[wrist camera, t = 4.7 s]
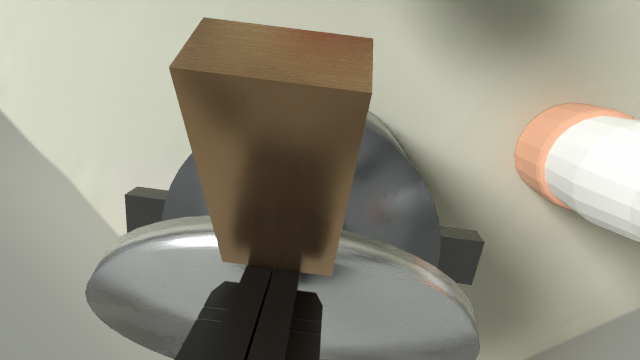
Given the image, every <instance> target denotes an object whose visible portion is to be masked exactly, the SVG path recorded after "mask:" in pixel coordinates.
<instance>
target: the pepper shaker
mask: <svg viewBox="0 0 640 360" xmlns="http://www.w3.org/2000/svg"><path fill="white" fill-rule="evenodd" d="M515 162H516V168H517V171H518V173H519V175H520V177H521V179H522V180H523V181H524V182H525V183H526V184H527V185H529V186H530V187H531V188H532V189H533V190H535V191H536V192H538V193H539V194H541V195H542V196H544V197H545V198H547V199H548V200H549V201H551V202H552V203H554V204H556V205H559V206H561V207H563V208H566V209H571V210H574V211H575V212H577V213H578V214H580V215H581V216H582V217H584V218H585V219H586V220H588V221H589V222H591V223H593V224H596V225H598V226H601V227H603V228H605V229H608V230H610V231H613V232H615V233H618V234H620V235H622V236H625V237H627V238H630V239H632V240H635V241H637V242H640V121H638V120H635V119H634V118H633V117H631V116H629V115H627V114H625V113H622V112H620V111H618V110H614V109H608V108H603V107H598V106H593V105H588V104H578V103H567V104H563V105H558V106H554V107H552V108H550V109H548V110H546V111H544V112H543V113H541V114H539V115H538V116H537V117H536V118H535V119H534V120H532V121H531V122H530V123H529V124H528V125H527V126H526V128H525V130H524V131H523V133H522V134H521V136H520V138H519V139H518V143H517V147H516V151H515Z"/></svg>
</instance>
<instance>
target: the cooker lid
mask: <svg viewBox="0 0 640 360" xmlns="http://www.w3.org/2000/svg"><path fill="white" fill-rule="evenodd" d="M372 67H373V39H372V38H364V37H356V36H348V35H340V34H332V33H324V32H316V31H308V30H300V29H292V28H284V27H276V26H268V25H260V24H252V23H244V22H236V21H228V20H220V19H212V18H203V19H202V20H201V22H200V23H199V25H198V26H197V28H196V29H195V31H194V32H193V33H192V35H191V36H190V38H189V39H188V41H187V42H186V44H185V45H184V46H183V48H182V49H181V51H180V52H179V54H178V55H177V57H176V58H175V59H174V61H173V62H172V64H171V65H170V67H169V69H170V73H171V76H172V80H173V83H174V87H175V91H176V94H177V98H178V102H179V105H180V109H181V113H182V116H183V120H184V123H185V127H186V131H187V134H188V138H189V142H190V145H191V149H192V153H193V156H194V160H195V164H196V167H197V171H198V174H199V178H200V182H201V185H202V189H203V193H204V196H205V200H206V204H207V207H208V211H209V215H207V216H193V217H183V218H177V219H171V220H165V221H160V222H156V223H153V224H150V225H146V226H143V227H140V228H137V229H135V230H133V231H131V232H129V233H127V234H125V235H123V236H121V237H120V238H118V239H117V240H116V241H115V242H114V243H112V244H111V245H110V246H109V247H108V249H107V250H106V252H105V253H104V255H103V257H102V258H101V260H100V262H99V264H98V265H97V267H96V269H95V271H94V273H93V274H92V276H91V278H90V280H89V281H88V283H87V287H86V292H85V294H86V299H87V303H88V304H89V306H90V308H91V309H92V311H93V312H94V313H95V314H96V315H97V316H98V317H99V319H100V320H101V321H103V322H104V323H105V324H106V325H108V326H109V327H110V328H111V329H113V330H115V331H116V332H118V333H119V334H121V335H122V336H124V337H126V338H128V339H129V340H131V341H133V342H135V343H137V344H139V345H141V346H143V347H146V348H148V349H150V350H152V351H154V352H157V353H160V354H162V355H164V356H167V357H170V358H173V359H175V358H176V356H177V354H178V352H179V350H180V349H181V347H182V345H183V343H184V341H185V339H186V337H187V336H188V334H189V332H190V330H191V328H192V326H193V324H194V323H195V321H196V320H197V318H198V315H199V313H200V311H201V310H202V308H203V307H204V304H205V302H206V300H207V299H208V297H209V295H210V293H211V291H213V290H214V289H215V288H216V287H218V286H219V285H220V284H222V283H223V282H224V281H230V282H238V283H239V282H240V280H241V277H242V275H243V273H244V271H245V268H246V266H247V265H250V266H258V267H265V268H273V272H274V269H281V270H289V271H297V272H300V278H299V286H298V290H300V291H308V292H315V293H317V295H318V297H319V299H320V301H321V303H322V305H323V311H322V327H321V344H320V360H475V359H476V358H477V356H478V353H479V349H480V345H479V339H478V333H477V327H476V322H475V316H474V311H473V307H472V304H471V302H470V300H469V298H468V297H467V295H466V293H465V292H464V291H463V290H462V289H461V288H460V287H459V286H458V285H457V283H456V282H455V281H454V280H452V279H451V278H450V277H448V276H447V275H446V274H444V273H443V272H442V271H440V270H439V269H438V268H436V267H435V266H433V265H431V264H429V263H427V262H426V261H424V260H422V259H420V258H419V257H417V256H415V255H413V254H411V253H408V252H406V251H404V250H401V249H399V248H397V247H394V246H392V245H390V244H387V243H384V242H381V241H378V240H375V239H372V238H369V237H366V236H363V235H360V234H357V233H354V232H350V231H345V230H342V227H343V222H344V218H345V213H346V209H347V204H348V200H349V195H350V190H351V186H352V181H353V177H354V172H355V168H356V163H357V159H358V154H359V149H360V145H361V140H362V136H363V131H364V127H365V122H366V118H367V113H368V109H369V104H370V99H371V95H372Z"/></svg>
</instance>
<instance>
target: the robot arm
mask: <svg viewBox="0 0 640 360" xmlns="http://www.w3.org/2000/svg"><path fill="white" fill-rule="evenodd" d="M299 278H300V272H297V271H289V270H281V269H274V272H273V268H265V267H258V266H250V265H247V266H246V268H245V271H244V273H243V275H242V277H241V280H240V282H239V283H238V282H230V281H224V282H223V283H222V284H220V285H219V286H218V287H216V288H215V289H214V290H213V291H211V293H210V295H209V297H208V299H207V300H206V302H205V304H204V307H203V308H202V310H201V311H200V313H199V315H198V318H197V320H196V321H195V323H194V324H193V326H192V328H191V330H190V332H189V334H188V336H187V337H186V339H185V341H184V343H183V345H182V347H181V349H180V350H179V352H178V354H177V356H176V358H175V360H320V344H321V327H322V311H323V305H322V303H321V301H320V299H319V297H318V295H317V293H315V292H308V291H300V290H298V286H299Z"/></svg>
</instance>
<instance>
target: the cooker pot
mask: <svg viewBox="0 0 640 360" xmlns="http://www.w3.org/2000/svg"><path fill="white" fill-rule="evenodd" d="M125 204H126V220H127V233H129V232H131V231H133V230H135V229H137V228H140V227H143V226H146V225H150V224H153V223H156V222H160V221H165V220H171V219H177V218H183V217H193V216H207V215H209V211H208V207H207V204H206V200H205V196H204V193H203V189H202V185H201V182H200V178H199V174H198V171H197V167H196V164H195V160H194V156H193V153H192V154H191V155H190V156H189V157H188V159H187V160H186V161H185V162H184V164H183V165H182V166H181V168H180V169H179V171H178V173H177V174H176V176H175V178H174V180H173V182H172V184H171V186H170V189H169V191H167V190H159V189H151V188H144V187H136V188H134V189H133V190H131V191H130V192H128V193H127V194H125ZM342 230H345V231H350V232H354V233H357V234H360V235H363V236H366V237H369V238H372V239H375V240H378V241H381V242H384V243H387V244H390V245H392V246H394V247H397V248H399V249H401V250H404V251H406V252H408V253H411V254H413V255H415V256H417V257H419V258H420V259H422V260H424V261H426V262H427V263H429V264H431V265H433V266H435V267H436V268H438V269H439V270H440V271H442V272H443V273H444V274H446V275H447V276H448V277H450V278H451V279H452V280H454V281H455V282H456V283H462V284H469V285H472V282H473V278H474V275H475V272H476V268H477V265H478V262H479V258H480V255H481V252H482V248H483V245H484V241H483V239H482V238H481V237H480V236H479V234H478V233H477V232H476V231H471V230H463V229H456V228H448V227H440V226H439V220H438V216H437V213H436V209H435V205H434V202H433V200H432V198H431V195H430V193H429V191H428V189H427V186H426V185H425V183H424V182H423V180H422V179H421V177H420V175H419V174H418V172H417V171H416V169H415V168H414V166H413V165H412V163H411V162H410V160H409V159H408V157H407V156H406V154H405V153H404V151H403V150H402V148H401V147H400V145H399V144H398V142H397V141H396V139H395V137H394V136H393V134H392V133H391V132H390V131H389V129H388V128H387V127H386V126H385V125H384V123H383V122H381V121H380V120H379V119H378V118H377V117H376V116H375V115H374V114H372V113H371V112H369V111H368V113H367V118H366V122H365V127H364V131H363V136H362V140H361V145H360V149H359V154H358V159H357V163H356V168H355V172H354V177H353V181H352V186H351V190H350V195H349V200H348V204H347V209H346V213H345V218H344V222H343V227H342Z"/></svg>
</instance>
